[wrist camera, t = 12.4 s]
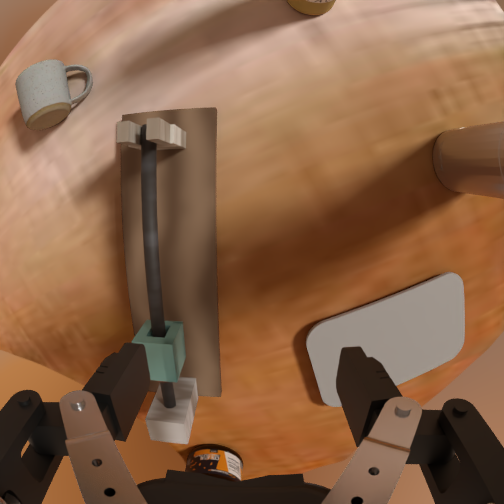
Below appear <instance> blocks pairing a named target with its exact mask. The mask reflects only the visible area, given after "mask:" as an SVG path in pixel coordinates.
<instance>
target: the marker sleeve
mask: <svg viewBox="0 0 504 504" xmlns="http://www.w3.org/2000/svg"><path fill="white" fill-rule="evenodd" d="M165 329H166V336H165V338H162V337H153V335H152V328H151V320H146V321H145V323H144V324H143V326H142V327H141V328H140V330H139V331H138V333H137V334H136V336H135V337H134V339H133V340H132V343H137V344H143V345H144V346H145V350H146V355H147V361H148V367H149V372H150V380H156V381H166V382H177V381H178V379H179V376H180V373H181V370H182V367H183V364H184V361H185V358H186V351H185V341H184V330H183V322H180V321H165Z"/></svg>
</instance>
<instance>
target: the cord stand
mask: <svg viewBox="0 0 504 504" xmlns="http://www.w3.org/2000/svg"><path fill="white" fill-rule="evenodd" d="M216 138H217V109H216V108H192V109H177V110H164V111H153V112H143V113H135V114H127V115H122V121H121V122H117V143H120V144H121V198H122V222H123V239H124V252H125V264H126V274H127V283H128V292H129V300H130V308H131V315H132V322H133V328H134V335H135V336H136V334H137V333H138V331H139V330H140V328H141V327H142V326H143V324H144V323H145V321H146V320H151V328H152V335H153V337H162V338H165V336H166V329H165V321H180V322H183V330H184V341H185V351H186V358H185V361H184V364H183V367H182V370H181V373H180V376H179V379H178V381H177V382H166V381H156V380H150V386H149V389H148V391H151V392H156V394H155V397H154V399H153V402H152V404H151V407H150V409H149V411H148V414H147V416H146V419H145V420H146V424H147V427H148V431H149V434H150V438H151V440H156V441H164V442H172V443H181V444H188V442H189V437H190V433H191V428H192V424H193V419H194V415H195V410H196V406H197V401H198V396H211V397H221V392H222V390H221V370H220V349H219V324H218V292H217V244H216Z"/></svg>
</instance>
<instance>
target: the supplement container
mask: <svg viewBox="0 0 504 504" xmlns="http://www.w3.org/2000/svg"><path fill="white" fill-rule="evenodd" d="M242 469H243V461H242V458H241V457H240V455H239V454H238V453H237V452H235V451H234V450H232V449H230V448H227V447H224V446H220V445H202V446H199V447H196V448H194V449H193V450H192V451H191V452H190V453H189V455H188V458H187V465H186V469H185V472H193V473H201V474H205V475H208V476H212V477H216V478H220V479H224V480H228V481H233V482H236V481H242Z"/></svg>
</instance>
